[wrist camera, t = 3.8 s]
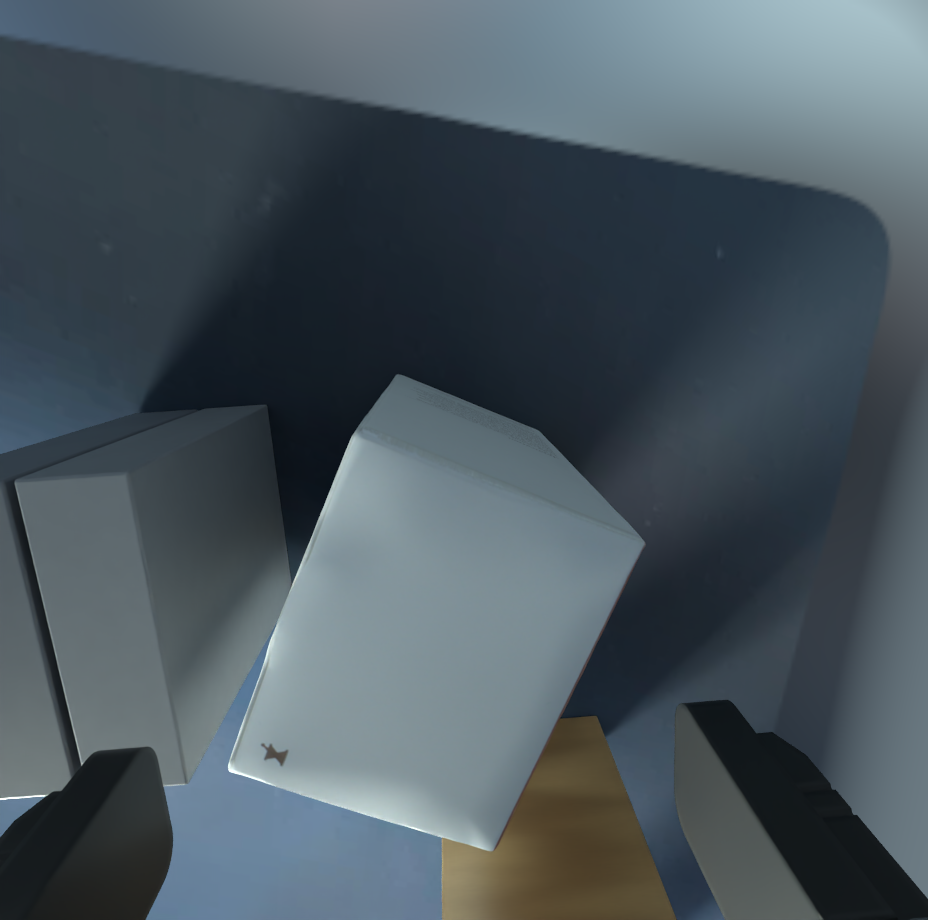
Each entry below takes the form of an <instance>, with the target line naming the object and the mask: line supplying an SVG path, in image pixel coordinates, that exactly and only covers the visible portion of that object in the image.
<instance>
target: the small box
mask: <svg viewBox="0 0 928 920" xmlns="http://www.w3.org/2000/svg"><path fill="white" fill-rule="evenodd" d="M645 546H646V545H645V542H644V541H643V539H642V538H641V537H640V536H639V535H638V533H637V532H636V531H635V530H634V529H633V528H632V527H631V526H630V525H629V523H628V522H627V521H626V520H625V519H624V518H623V517H622V516H621V515H620V514H619V513H618V512H617V511H616V510H615V509H614V508H613V507H612V506H611V505H610V504H609V503H608V502H607V501H606V500H605V499H604V498H603V497H602V495H601V494H600V493H599V492H598V491H597V490H596V489H595V488H594V487H593V486H592V485H591V484H590V483H589V482H588V481H587V480H586V479H585V478H584V477H583V476H582V475H581V474H580V473H579V472H578V471H577V470H576V469H575V467H574V466H573V465H572V464H571V463H570V462H569V461H568V460H567V459H566V458H565V457H564V456H563V455H562V454H561V453H560V452H559V451H558V450H557V449H556V448H555V447H554V446H553V445H552V444H551V443H550V442H549V441H548V440H547V439H546V438H545V436H544V435H543V434H542V433H541V432H540V431H538V430H536V429H534V428H531V427H529V426H526V425H524V424H521V423H519V422H517V421H514V420H512V419H509V418H507V417H504V416H502V415H499V414H497V413H494V412H492V411H489V410H487V409H484V408H482V407H479V406H477V405H474V404H472V403H470V402H467V401H465V400H462V399H460V398H457V397H455V396H452V395H450V394H448V393H445V392H443V391H440V390H438V389H435V388H433V387H430V386H428V385H425V384H423V383H420V382H418V381H416V380H413V379H411V378H408V377H406V376H403V375H399V374H398V375H396V376H395V377H394V378H393V380H392V382H391V383H390V384H389V386H388V387H387V389H386V390H385V391H384V392H383V393H382V394H381V396H380V398H379V399H378V400H377V402H376V403H375V405H374V406H373V407H372V409H371V410H370V411H369V413H368V414H367V415H366V416H365V418H364V419H363V421H362V422H361V423H360V425H359V426H358V428H357V429H356V431H355V432H354V434H353V436H352V437H351V440H350V442H349V444H348V447H347V449H346V451H345V454H344V456H343V459H342V462H341V464H340V467H339V469H338V472H337V474H336V477H335V479H334V482H333V484H332V487H331V489H330V492H329V494H328V497H327V499H326V502H325V504H324V507H323V509H322V512H321V514H320V517H319V520H318V522H317V525H316V527H315V530H314V532H313V535H312V537H311V540H310V542H309V545H308V547H307V550H306V552H305V555H304V557H303V560H302V562H301V565H300V567H299V570H298V572H297V575H296V577H295V580H294V582H293V585H292V587H291V590H290V592H289V594H288V597H287V599H286V602H285V604H284V607H283V609H282V611H281V614H280V617H279V620H278V622H277V625H276V628H275V631H274V633H273V635H272V638H271V640H270V643H269V646H268V650H267V654H266V658H265V661H264V664H263V668H262V671H261V674H260V677H259V679H258V682H257V685H256V688H255V690H254V693H253V696H252V699H251V701H250V704H249V707H248V710H247V712H246V715H245V718H244V721H243V723H242V726H241V729H240V732H239V735H238V737H237V740H236V743H235V746H234V749H233V752H232V755H231V758H230V761H229V764H228V769H229V771H230V772H232V773H236V774H240V775H244V776H247V777H250V778H253V779H256V780H259V781H261V782H264V783H267V784H270V785H273V786H276V787H279V788H282V789H285V790H288V791H291V792H294V793H298V794H301V795H304V796H307V797H310V798H313V799H317V800H320V801H323V802H326V803H330V804H333V805H336V806H339V807H343V808H346V809H349V810H353V811H356V812H359V813H362V814H366V815H369V816H372V817H375V818H379V819H382V820H386V821H389V822H392V823H395V824H399V825H403V826H407V827H410V828H413V829H416V830H419V831H423V832H426V833H429V834H432V835H436V836H439V837H443V838H446V839H449V840H453V841H456V842H460V843H464V844H468V845H471V846H474V847H477V848H480V849H484V850H487V851H494V850H495V849H496V848H497V846H498V845H499V843H500V841H501V838H502V836H503V834H504V832H505V830H506V828H507V826H508V824H509V822H510V820H511V818H512V816H513V814H514V812H515V810H516V808H517V806H518V803H519V801H520V799H521V797H522V795H523V793H524V791H525V789H526V787H527V785H528V783H529V781H530V779H531V777H532V775H533V773H534V771H535V769H536V767H537V765H538V763H539V761H540V759H541V757H542V755H543V753H544V751H545V749H546V747H547V745H548V743H549V741H550V739H551V736H552V734H553V732H554V730H555V728H556V725H557V723H558V721H559V719H560V717H561V716H562V714H563V712H564V710H565V708H566V706H567V704H568V702H569V700H570V698H571V696H572V693H573V691H574V689H575V687H576V685H577V683H578V681H579V679H580V678H581V676H582V674H583V672H584V670H585V667H586V665H587V663H588V661H589V659H590V657H591V655H592V653H593V651H594V648H595V646H596V644H597V642H598V640H599V638H600V637H601V635H602V632H603V630H604V628H605V626H606V624H607V622H608V620H609V618H610V616H611V614H612V612H613V610H614V608H615V606H616V604H617V602H618V600H619V598H620V596H621V594H622V592H623V589H624V587H625V585H626V583H627V581H628V579H629V577H630V575H631V573H632V571H633V569H634V567H635V565H636V563H637V561H638V558H639V556H640V554H641V553H642V551H643V549H644V547H645Z"/></svg>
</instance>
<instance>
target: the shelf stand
mask: <svg viewBox="0 0 928 920" xmlns="http://www.w3.org/2000/svg"><path fill="white" fill-rule="evenodd" d="M442 920H677V919H676V916H675V914H674V911H673V909H672V906H671V904H670V901H669V899H668V896H667V893H666V891H665V888H664V886H663V883H662V881H661V878H660V876H659V873H658V871H657V868H656V865H655V863H654V860H653V858H652V855H651V853H650V850H649V848H648V845H647V843H646V840H645V837H644V835H643V832H642V830H641V827H640V825H639V822H638V820H637V817H636V815H635V812H634V809H633V807H632V804H631V802H630V799H629V797H628V794H627V792H626V789H625V787H624V784H623V781H622V779H621V776H620V774H619V771H618V769H617V766H616V764H615V761H614V759H613V756H612V753H611V751H610V748H609V746H608V743H607V741H606V738H605V736H604V733H603V731H602V728H601V725H600V723H599V720H598V718H597V716H588V717H575V718H563V719H559V721H558V723H557V725H556V728H555V730H554V732H553V734H552V736H551V739H550V741H549V743H548V745H547V747H546V749H545V751H544V753H543V755H542V757H541V759H540V761H539V763H538V765H537V767H536V769H535V771H534V773H533V775H532V777H531V779H530V781H529V783H528V785H527V787H526V789H525V791H524V793H523V795H522V797H521V799H520V801H519V803H518V806H517V808H516V810H515V812H514V814H513V816H512V818H511V820H510V822H509V824H508V826H507V828H506V830H505V832H504V834H503V836H502V838H501V841H500V843H499V845H498V846H497V848H496V849H495V850H494V851H487V850H484V849H480V848H477V847H474V846H471V845H468V844H464V843H460V842H456V841H453V840H449V839H446V838H443V837H442Z"/></svg>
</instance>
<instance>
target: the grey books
mask: <svg viewBox="0 0 928 920" xmlns="http://www.w3.org/2000/svg"><path fill="white" fill-rule="evenodd" d="M291 587H292V583H291V576H290V569H289V562H288V554H287V547H286V540H285V532H284V525H283V518H282V510H281V503H280V496H279V489H278V481H277V474H276V467H275V459H274V452H273V445H272V437H271V430H270V423H269V416H268V408H267V405H251V406H237V407H222V408H208V409H203V410H200V411H197V410H196V409H193V410H178V411H164V412H149V413H135V414H132V415H128V416H125V417H122V418H118V419H115V420H112V421H109V422H105V423H102V424H99V425H95V426H92V427H89V428H86V429H82V430H79V431H76V432H72V433H69V434H66V435H63V436H59V437H56V438H53V439H49V440H46V441H43V442H40V443H36V444H33V445H30V446H26V447H23V448H20V449H17V450H13V451H10V452H7V453H3V454H0V800H2V799H14V798H26V797H39V796H48V795H49V794H50V793H51V792H53V791H62V790H63V788H64V787H65V786H66V785H67V783H68V782H69V781H70V780H71V778H72V777H73V776H74V775H75V773H76V772H77V771H78V770H79V768H80V767H81V766H82V765H83V763H84V762H85V761H86V760H87V758H88V757H89V756H90V755H91V754H93V753H94V752H96V751H100V750H112V749H124V748H136V747H151V748H152V749H153V750H154V751H155V753H156V755H157V758H158V762H159V767H160V772H161V777H162V782H163V786H174V785H186V784H188V783H189V782H190V780H191V778H192V776H193V774H194V772H195V771H196V769H197V767H198V765H199V763H200V761H201V760H202V758H203V756H204V754H205V752H206V750H207V749H208V747H209V745H210V743H211V741H212V739H213V738H214V736H215V734H216V732H217V730H218V728H219V727H220V725H221V723H222V721H223V719H224V717H225V716H226V714H227V712H228V710H229V708H230V706H231V705H232V703H233V701H234V699H235V697H236V695H237V694H238V692H239V690H240V688H241V686H242V684H243V683H244V681H245V679H246V677H247V675H248V673H249V672H250V670H251V668H252V666H253V664H254V662H255V661H256V659H257V657H258V655H259V653H260V651H261V650H262V648H263V646H264V644H265V642H266V640H267V639H268V637H269V635H270V633H271V631H272V629H273V628H274V626H275V624H276V622H277V620H278V618H279V617H280V614H281V611H282V609H283V607H284V604H285V602H286V599H287V597H288V594H289V592H290V590H291Z"/></svg>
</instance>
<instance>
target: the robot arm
mask: <svg viewBox="0 0 928 920" xmlns="http://www.w3.org/2000/svg"><path fill="white" fill-rule="evenodd" d="M674 794H675V802H676V808H677V812H678V816H679V820H680V823H681V827H682V829H683V832H684V835H685V837H686V839H687V841H688V843H689V845H690V847H691V849H692V852H693V854H694V856H695V858H696V860H697V862H698V864H699V866H700V868H701V870H702V872H703V875H704V877H705V879H706V881H707V883H708V885H709V887H710V889H711V891H712V893H713V895H714V897H715V900H716V902H717V904H718V906H719V908H720V910H721V912H722V914H723V916H724V918H725V920H928V899H927V897H926V896H925V895H924V894H923V893H922V892H921V890H920V889H919V888H918V887H917V886H916V884H915V883H914V882H913V881H912V880H911V878H910V877H909V876H908V875H907V874H906V873H905V872H904V870H903V869H902V868H901V867H900V865H899V864H898V863H897V862H896V861H895V860H894V858H893V857H892V856H891V855H890V854H889V853H888V851H887V850H886V849H885V848H884V847H883V845H882V844H881V843H880V842H879V841H878V840H877V838H876V837H875V836H874V835H873V834H872V832H871V831H870V830H869V829H868V828H867V826H866V825H865V824H864V823H863V822H862V821H861V819H860V818H859V817H858V816H857V815H853V813H852V811H851V808H850V806H849V805H848V804H847V803H846V802H845V800H844V799H843V798H842V797H841V796H840V795H839V794H838V792H837V791H836V790H832V789H831V785H830V783H829V782H828V780H827V779H826V778H825V777H824V776H823V774H822V773H821V772H820V771H819V770H818V769H817V767H816V766H815V765H814V764H813V763H812V762H811V760H810V759H809V758H808V757H807V756H806V755H805V754H804V753H802V752H801V751H799V750H798V749H796V748H795V747H793V746H792V745H790V744H789V743H787V742H786V741H784V740H783V739H781V738H780V737H778V736H777V735H776V734H774V733H773V732H768V733H756V732H755V731H754V730H753V728H752V727H751V726H750V724H749V723H748V722H747V721H746V719H745V718H744V717H743V715H742V714H741V713H740V711H739V710H738V709H737V708H736V706H735V705H734V704H733V703H732V702H731V701H729V700H718V701H706V702H694V703H682V704H679V705H678V706H677V708H676V713H675V760H674ZM172 848H173V832H172V826H171V821H170V816H169V811H168V806H167V801H166V797H165V792H164V787H163V782H162V777H161V772H160V767H159V762H158V758H157V755H156V753H155V751H154V750H153V749H152V748H151V747H136V748H124V749H112V750H100V751H96V752H94V753H93V754H91V755H90V756H89V757H88V758H87V760H86V761H85V762H84V763H83V765H82V766H81V767H80V768H79V770H78V771H77V772H76V773H75V775H74V776H73V777H72V778H71V780H70V781H69V782H68V783H67V785H66V786H65V787H64V788H63V790H62V791H53V792H51V793H50V794H49V795H48V796H46V797H45V798H44V799H42V800H41V801H40V802H38V803H37V804H36V805H35V806H33V807H32V808H31V809H29V810H28V811H27V812H25V813H24V814H23V815H22V816H20V817H19V818H18V819H16V820H15V821H14V822H13V823H12V824H11V826H10V827H9V828H8V829H7V830H6V831H5V833H4V834H3V835H2V836H1V837H0V920H145V919H146V917H147V915H148V913H149V911H150V909H151V907H152V905H153V903H154V901H155V899H156V897H157V895H158V893H159V891H160V889H161V887H162V885H163V883H164V880H165V878H166V875H167V872H168V869H169V865H170V861H171V856H172Z"/></svg>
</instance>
